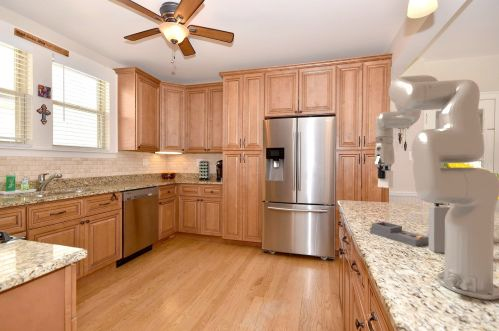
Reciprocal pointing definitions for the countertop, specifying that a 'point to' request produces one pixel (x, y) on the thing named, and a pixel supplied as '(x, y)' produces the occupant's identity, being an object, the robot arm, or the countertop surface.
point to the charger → (386, 180)
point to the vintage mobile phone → (437, 228)
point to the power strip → (398, 234)
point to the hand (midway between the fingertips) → (384, 178)
